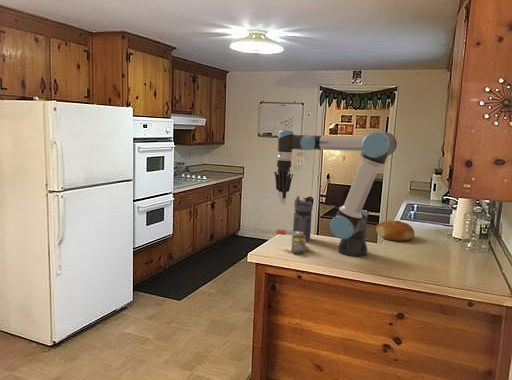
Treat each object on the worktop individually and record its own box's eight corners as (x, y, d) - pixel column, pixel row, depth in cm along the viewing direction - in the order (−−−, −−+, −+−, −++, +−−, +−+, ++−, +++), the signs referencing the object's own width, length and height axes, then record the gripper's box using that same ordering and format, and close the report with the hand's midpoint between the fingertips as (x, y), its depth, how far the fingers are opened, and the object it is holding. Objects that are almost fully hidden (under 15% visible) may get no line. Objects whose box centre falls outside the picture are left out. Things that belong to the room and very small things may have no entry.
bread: (368, 237, 253) (369, 220, 251) (384, 231, 271) (385, 216, 269) (405, 244, 238) (406, 227, 237) (419, 238, 256) (421, 222, 255)
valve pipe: (292, 245, 228) (293, 231, 227) (305, 246, 227) (306, 232, 226) (290, 255, 210) (291, 239, 209) (304, 256, 209) (305, 240, 208)
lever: (303, 234, 219) (303, 230, 219) (302, 236, 215) (303, 232, 215) (276, 232, 221) (277, 228, 221) (276, 234, 217) (276, 230, 217)
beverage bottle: (316, 239, 241) (319, 196, 238) (300, 242, 233) (303, 198, 229) (303, 235, 249) (306, 194, 245) (287, 238, 240) (290, 195, 237)
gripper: (270, 158, 223) (268, 202, 226) (287, 161, 212) (284, 206, 215) (281, 158, 227) (279, 201, 230) (298, 161, 216) (295, 205, 219)
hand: (281, 203), depth 223 cm, fingers closed
